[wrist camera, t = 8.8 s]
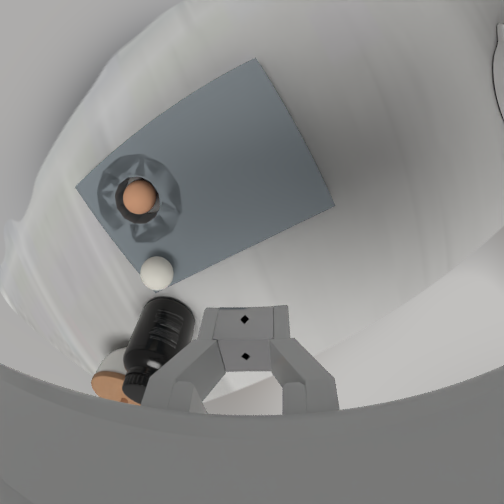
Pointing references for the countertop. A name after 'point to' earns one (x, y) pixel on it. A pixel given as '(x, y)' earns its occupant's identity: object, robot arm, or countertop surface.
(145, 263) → the cream ball
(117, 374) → the lidded jar
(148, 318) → the supplement bottle
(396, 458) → the robot arm
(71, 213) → the countertop surface
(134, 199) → the terracotta ball
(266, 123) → the plate
